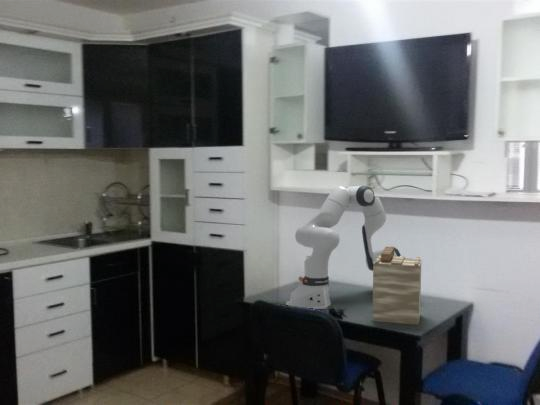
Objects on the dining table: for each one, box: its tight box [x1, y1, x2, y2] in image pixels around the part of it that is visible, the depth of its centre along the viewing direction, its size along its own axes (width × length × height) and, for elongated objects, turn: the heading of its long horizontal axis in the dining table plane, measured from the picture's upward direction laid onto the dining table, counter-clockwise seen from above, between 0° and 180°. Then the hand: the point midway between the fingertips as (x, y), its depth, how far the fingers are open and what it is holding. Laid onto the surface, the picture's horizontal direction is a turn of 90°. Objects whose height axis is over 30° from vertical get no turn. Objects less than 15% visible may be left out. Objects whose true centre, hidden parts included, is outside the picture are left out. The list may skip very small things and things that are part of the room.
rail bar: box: [381, 246, 395, 263], centre depth 261 cm, size 20×4×4 cm, turn 162°
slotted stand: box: [371, 255, 422, 326], centre depth 255 cm, size 16×20×27 cm
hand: (391, 256), depth 278 cm, fingers open, 8 cm apart
